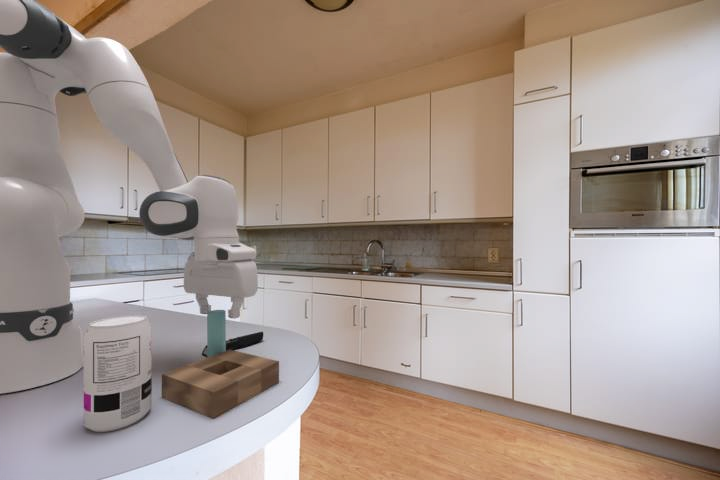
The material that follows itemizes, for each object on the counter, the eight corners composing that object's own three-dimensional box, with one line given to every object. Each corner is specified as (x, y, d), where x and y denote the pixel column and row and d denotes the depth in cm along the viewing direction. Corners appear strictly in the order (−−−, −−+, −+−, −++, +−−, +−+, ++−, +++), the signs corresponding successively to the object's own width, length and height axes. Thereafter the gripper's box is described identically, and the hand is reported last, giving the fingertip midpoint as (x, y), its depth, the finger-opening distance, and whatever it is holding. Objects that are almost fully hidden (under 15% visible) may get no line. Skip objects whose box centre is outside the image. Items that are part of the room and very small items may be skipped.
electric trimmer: (266, 344, 84) (266, 332, 84) (207, 359, 72) (207, 346, 72) (259, 341, 86) (259, 329, 87) (200, 356, 75) (201, 342, 75)
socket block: (161, 397, 54) (161, 374, 54) (230, 368, 66) (230, 349, 66) (213, 418, 47) (213, 392, 47) (279, 382, 60) (278, 361, 60)
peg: (203, 368, 66) (203, 312, 66) (218, 362, 69) (218, 309, 69) (214, 372, 65) (214, 314, 65) (229, 366, 68) (229, 310, 68)
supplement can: (68, 431, 44) (68, 326, 44) (122, 402, 52) (122, 313, 53) (116, 437, 43) (116, 328, 43) (164, 406, 51) (164, 315, 51)
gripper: (174, 252, 69) (176, 314, 69) (236, 252, 59) (239, 324, 59) (201, 251, 75) (202, 308, 75) (262, 250, 65) (264, 316, 65)
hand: (219, 315), depth 67 cm, fingers open, 8 cm apart
